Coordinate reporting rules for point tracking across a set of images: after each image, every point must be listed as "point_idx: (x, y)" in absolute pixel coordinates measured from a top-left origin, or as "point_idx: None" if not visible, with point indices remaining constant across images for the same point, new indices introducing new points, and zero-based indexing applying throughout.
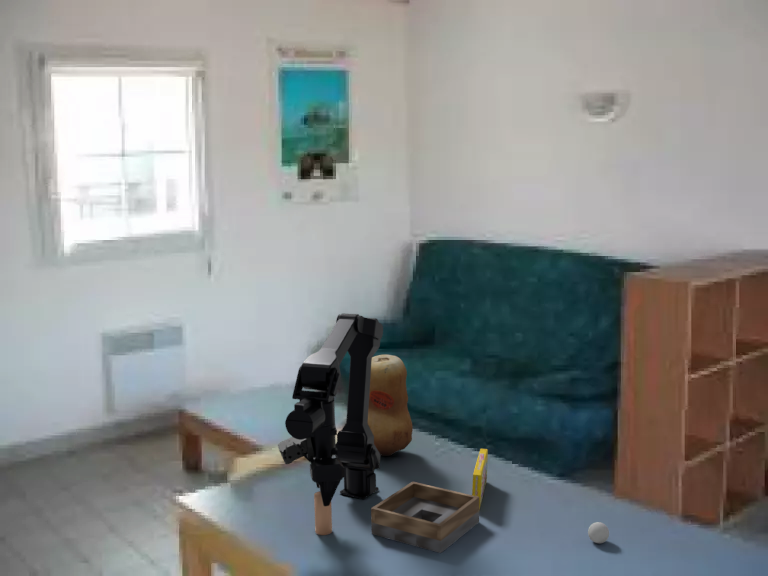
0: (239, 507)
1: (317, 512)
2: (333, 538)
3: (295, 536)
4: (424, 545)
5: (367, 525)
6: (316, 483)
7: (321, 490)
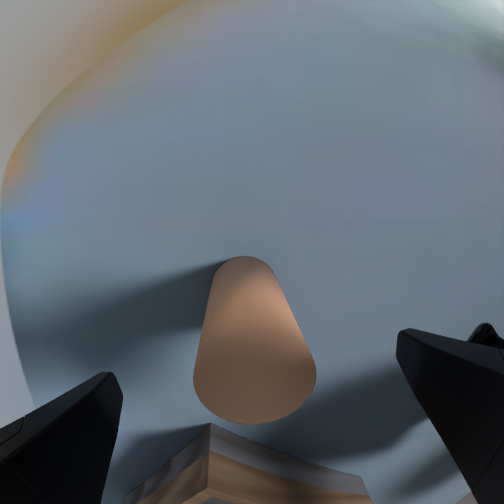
0: (444, 22)
1: (214, 301)
2: (182, 321)
3: (210, 175)
4: (137, 491)
5: None
6: (414, 340)
7: (10, 431)
